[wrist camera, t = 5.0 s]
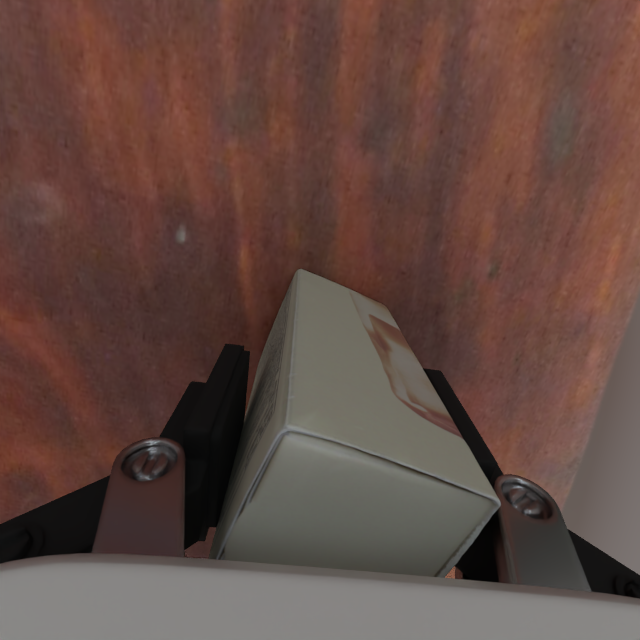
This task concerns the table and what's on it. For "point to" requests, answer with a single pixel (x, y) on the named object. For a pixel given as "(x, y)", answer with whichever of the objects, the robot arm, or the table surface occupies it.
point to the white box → (348, 449)
